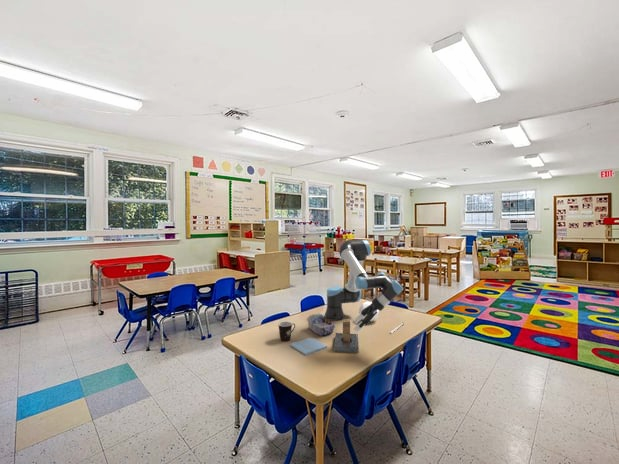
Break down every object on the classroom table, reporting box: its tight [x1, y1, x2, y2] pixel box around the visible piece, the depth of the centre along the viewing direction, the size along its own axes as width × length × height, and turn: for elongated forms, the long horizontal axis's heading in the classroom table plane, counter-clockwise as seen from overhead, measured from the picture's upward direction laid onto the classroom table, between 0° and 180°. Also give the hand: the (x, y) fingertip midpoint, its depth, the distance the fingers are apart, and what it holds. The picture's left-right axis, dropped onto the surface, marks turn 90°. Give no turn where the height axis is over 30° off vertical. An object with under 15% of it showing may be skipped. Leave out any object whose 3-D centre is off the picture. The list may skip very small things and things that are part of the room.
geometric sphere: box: [358, 301, 380, 323], centre depth 218 cm, size 14×15×15 cm
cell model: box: [307, 313, 336, 336], centre depth 198 cm, size 13×11×20 cm
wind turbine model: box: [389, 321, 405, 334], centre depth 206 cm, size 16×2×30 cm
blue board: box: [289, 337, 328, 356], centre depth 174 cm, size 16×16×1 cm
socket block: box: [333, 332, 360, 354], centre depth 176 cm, size 20×14×3 cm
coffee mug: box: [277, 321, 296, 342], centre depth 185 cm, size 12×9×10 cm
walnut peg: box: [342, 318, 351, 342], centre depth 176 cm, size 4×4×15 cm
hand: (355, 325), depth 174 cm, fingers open, 13 cm apart
